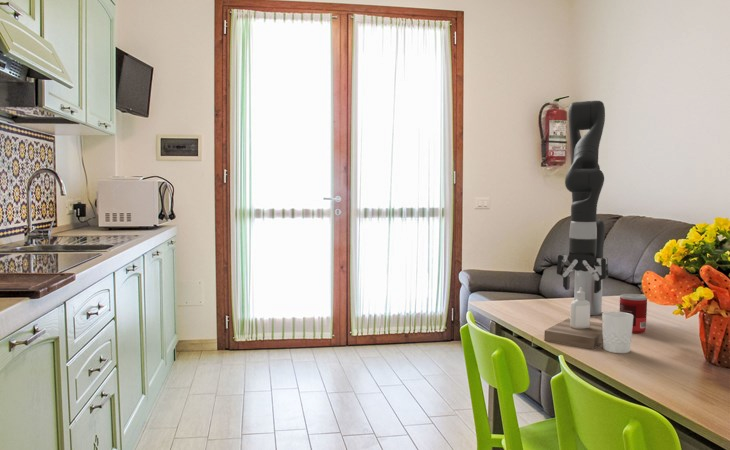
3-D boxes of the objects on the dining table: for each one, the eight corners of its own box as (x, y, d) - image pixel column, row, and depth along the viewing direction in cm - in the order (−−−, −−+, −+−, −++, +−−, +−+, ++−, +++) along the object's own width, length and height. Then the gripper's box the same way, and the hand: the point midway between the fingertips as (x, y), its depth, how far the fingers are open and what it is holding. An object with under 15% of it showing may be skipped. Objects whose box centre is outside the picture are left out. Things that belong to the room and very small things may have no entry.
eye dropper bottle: (591, 329, 167) (592, 289, 166) (571, 328, 168) (572, 288, 168) (588, 326, 171) (589, 286, 171) (568, 325, 173) (570, 286, 172)
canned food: (644, 328, 181) (645, 294, 180) (647, 334, 174) (648, 299, 173) (617, 326, 184) (618, 292, 183) (620, 332, 176) (621, 297, 175)
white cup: (596, 345, 161) (597, 311, 160) (624, 346, 161) (626, 311, 160) (607, 354, 153) (608, 317, 153) (637, 354, 153) (638, 317, 152)
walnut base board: (567, 327, 182) (568, 318, 182) (614, 334, 173) (614, 324, 173) (544, 340, 167) (544, 330, 166) (593, 349, 158) (594, 338, 158)
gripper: (612, 237, 166) (610, 292, 168) (563, 234, 175) (562, 286, 177) (604, 239, 161) (602, 296, 162) (554, 236, 169) (553, 290, 171)
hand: (581, 291), depth 169 cm, fingers open, 8 cm apart
